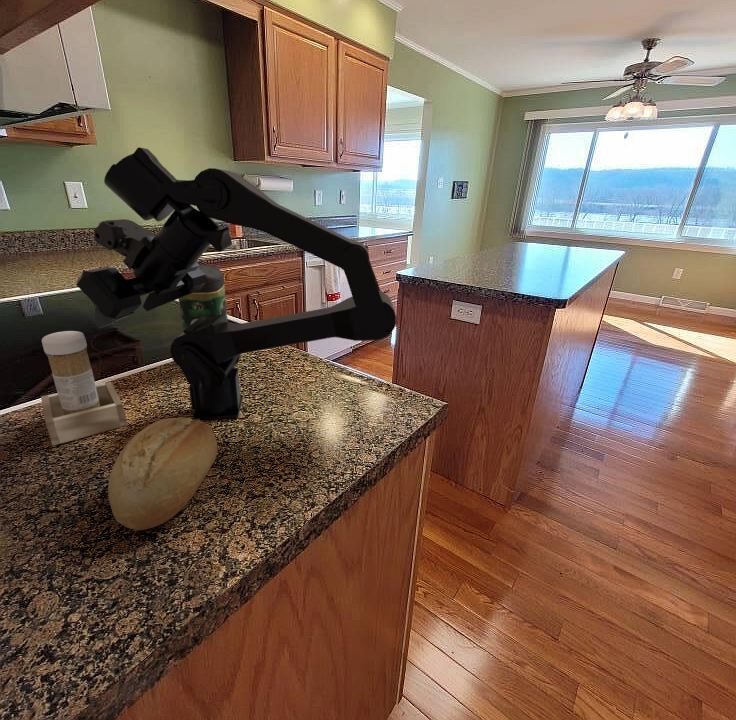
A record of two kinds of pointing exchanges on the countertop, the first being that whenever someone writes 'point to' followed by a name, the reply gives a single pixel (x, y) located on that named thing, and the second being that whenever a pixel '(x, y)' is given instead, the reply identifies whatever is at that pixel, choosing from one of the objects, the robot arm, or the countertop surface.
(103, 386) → the guard collar
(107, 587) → the countertop surface
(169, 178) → the robot arm
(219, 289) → the coffee jar
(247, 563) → the countertop surface
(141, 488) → the bread roll
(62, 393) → the sprinkles bottle
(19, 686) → the countertop surface
